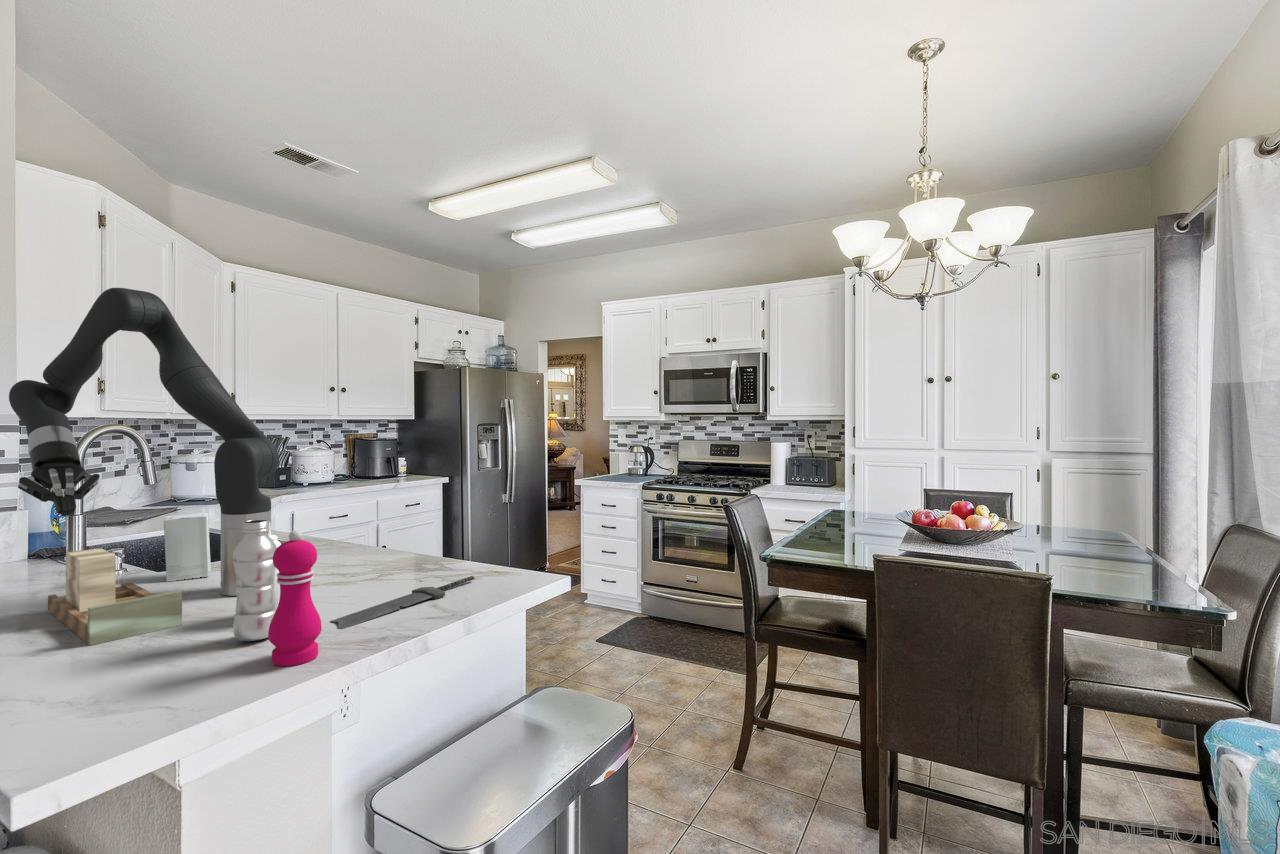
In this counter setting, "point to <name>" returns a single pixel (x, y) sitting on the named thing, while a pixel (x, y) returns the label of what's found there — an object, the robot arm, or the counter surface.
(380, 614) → the toy broadsword
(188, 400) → the robot arm
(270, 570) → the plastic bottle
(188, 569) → the skincare box
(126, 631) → the trap deck
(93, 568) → the maple block
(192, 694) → the counter surface
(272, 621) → the pepper mill
